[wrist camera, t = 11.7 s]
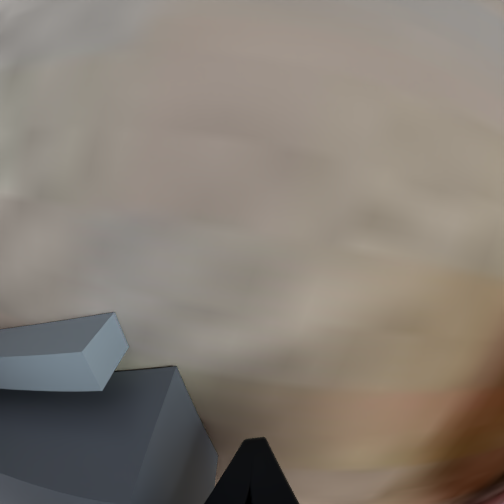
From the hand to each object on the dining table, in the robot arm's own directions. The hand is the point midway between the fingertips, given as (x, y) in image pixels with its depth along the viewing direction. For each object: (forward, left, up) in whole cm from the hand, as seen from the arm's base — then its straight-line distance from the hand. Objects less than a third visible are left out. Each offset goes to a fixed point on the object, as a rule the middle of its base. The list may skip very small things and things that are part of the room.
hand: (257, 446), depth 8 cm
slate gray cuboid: (0, +6, -2) cm, 6 cm away
